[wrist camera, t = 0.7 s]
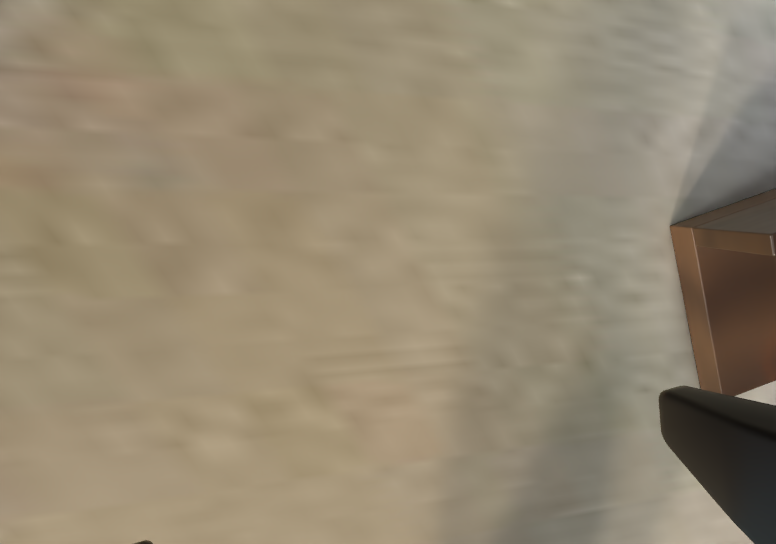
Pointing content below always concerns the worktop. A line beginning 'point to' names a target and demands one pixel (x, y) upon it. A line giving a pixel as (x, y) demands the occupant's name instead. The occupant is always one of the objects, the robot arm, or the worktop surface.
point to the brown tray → (731, 292)
